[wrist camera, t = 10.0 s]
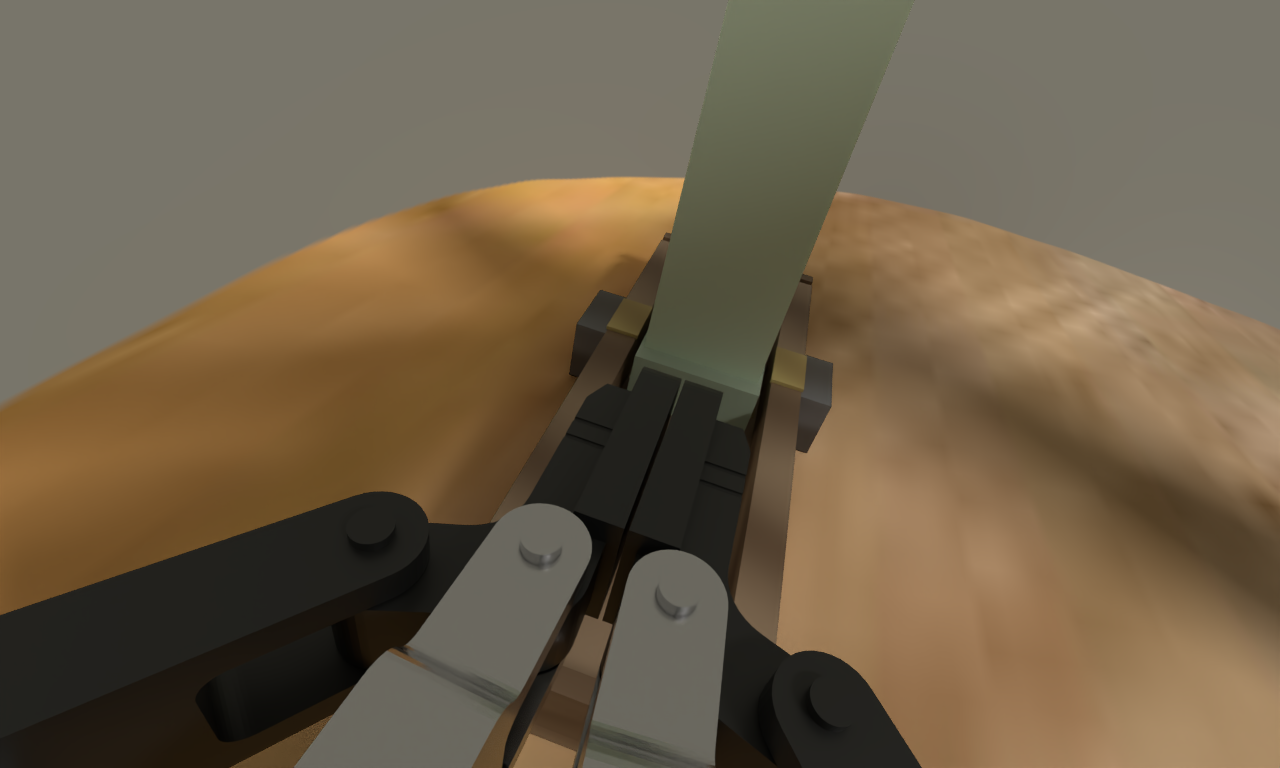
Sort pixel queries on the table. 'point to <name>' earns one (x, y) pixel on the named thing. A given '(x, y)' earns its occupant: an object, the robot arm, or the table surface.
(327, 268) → the table surface
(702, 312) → the block
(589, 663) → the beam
